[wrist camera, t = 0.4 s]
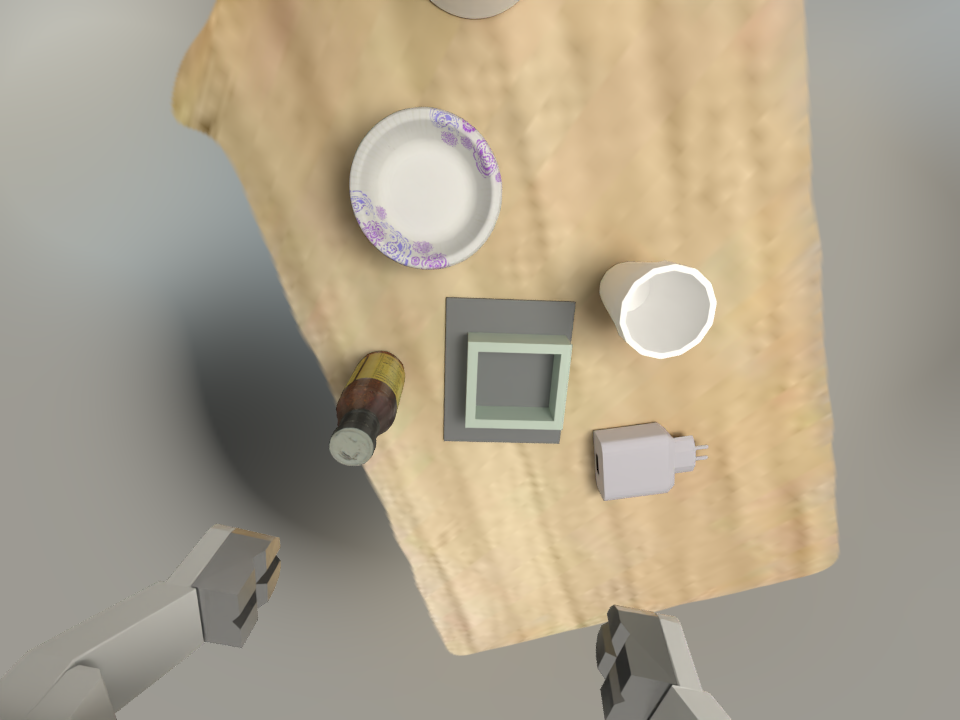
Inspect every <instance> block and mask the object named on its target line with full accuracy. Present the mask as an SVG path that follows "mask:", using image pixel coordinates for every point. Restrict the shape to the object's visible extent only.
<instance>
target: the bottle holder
mask: <svg viewBox="0 0 960 720" xmlns="http://www.w3.org/2000/svg"><path fill="white" fill-rule="evenodd" d="M478 352H504V353H536V354H554V361H553V371H552V381H551V390H550V400H549V407H511V406H476V389H477V366H478ZM571 353H572V344H571V342H570V341H569V340H568V338H567V337H566V335H539V334H509V333H479V332H468V354H467V382H466V410H465V428H501V429H542V430H563V421H564V413H565V404H566V396H567V387H568V379H569V370H570V362H571Z"/></svg>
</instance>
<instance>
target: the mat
mask: <svg viewBox="0 0 960 720" xmlns="http://www.w3.org/2000/svg"><path fill="white" fill-rule="evenodd" d="M575 304H576V302H569V301H541V300H514V299H486V298H458V297H447V307H446V362H445V417H444V441H468V442H511V443H554V444H559V442H560V433H561V430H542V429H501V428H465V410H466V382H467V354H468V332H479V333H509V334H539V335H566V337H567V338H568V340H569V341H570V342H571V338H572V329H573V321H574V312H575ZM553 361H554V354H536V353H504V352H478V366H477V389H476V406H511V407H549V400H550V390H551V381H552V371H553Z"/></svg>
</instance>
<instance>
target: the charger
mask: <svg viewBox="0 0 960 720" xmlns="http://www.w3.org/2000/svg"><path fill="white" fill-rule="evenodd" d="M593 436H594V454H595V472H596V483H597V487H598V489H599V492H600V494H601V496H602V498H603V500H604V501H607V500H615V499H623V498H630V497H638V496H646V495H653V494H661V493H667V492H668V491H669V490H670V489H671V488H672V487H673V486H674V473H681V472H688V471H693V469H694V467H695V461H696V460H704V459H707V458H708V457H707V456H698V457H696V450H699V449H706V448H708V445H701V446H695V443H694V439H693V436H684V437H677V438H672V436H671V435H670V434H669V433H668V432H667V430H666V429H665V428H664V427H662V426H661V425H660V424H659V423H657V422H656V423H648V424H640V425H633V426H625V427H618V428H610V429H603V430H595V431H594V432H593ZM596 454H597V456H598V472H599V474H598V472H597V467H596Z"/></svg>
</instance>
